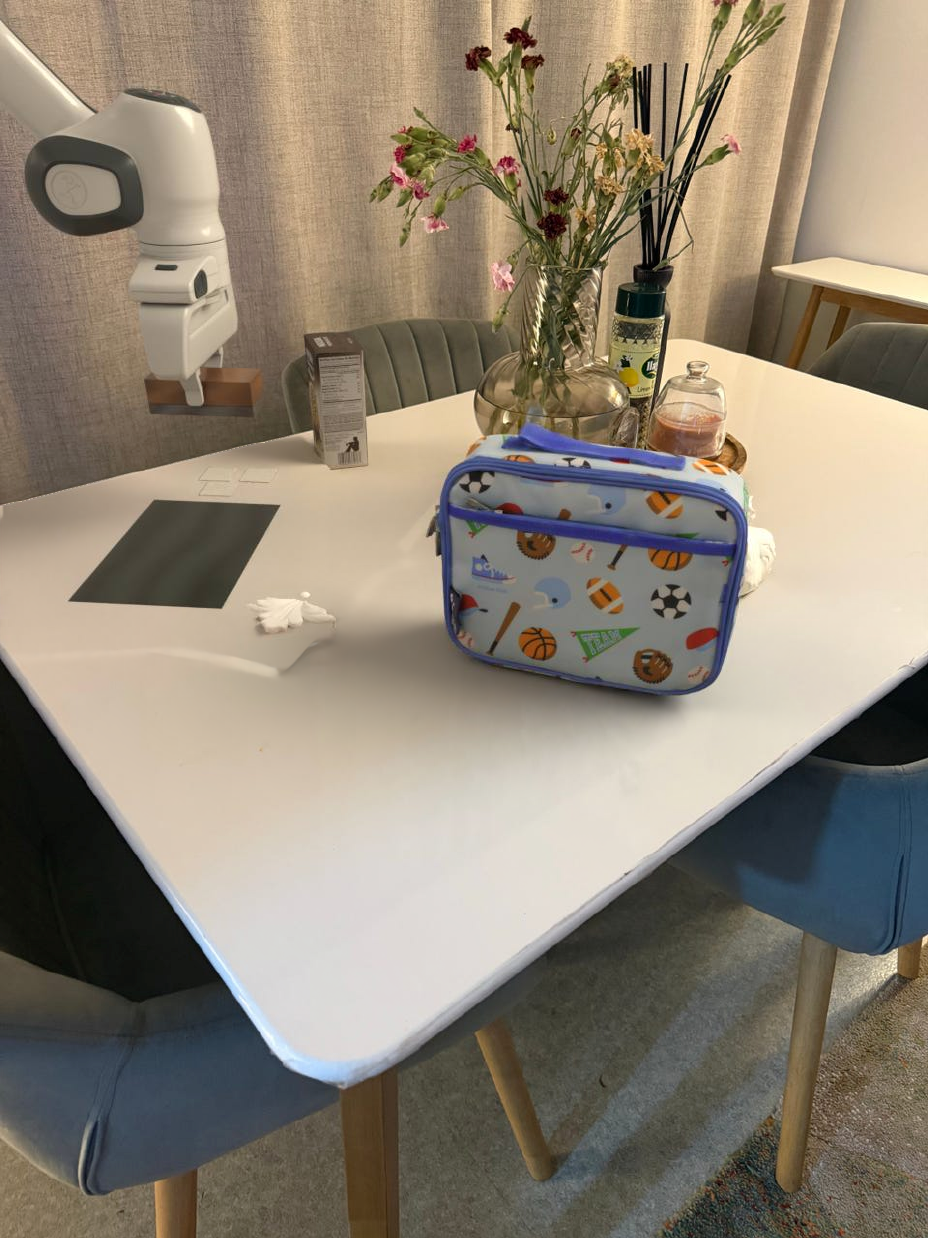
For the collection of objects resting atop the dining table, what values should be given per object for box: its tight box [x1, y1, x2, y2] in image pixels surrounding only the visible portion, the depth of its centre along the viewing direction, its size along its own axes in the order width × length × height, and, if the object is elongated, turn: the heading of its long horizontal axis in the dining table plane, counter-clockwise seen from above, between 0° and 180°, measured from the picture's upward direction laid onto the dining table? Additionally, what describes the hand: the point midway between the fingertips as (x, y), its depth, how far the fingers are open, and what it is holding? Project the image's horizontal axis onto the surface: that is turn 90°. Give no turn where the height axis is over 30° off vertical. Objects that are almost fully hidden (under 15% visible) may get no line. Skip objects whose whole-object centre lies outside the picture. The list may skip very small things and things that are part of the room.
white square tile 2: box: [238, 468, 278, 484], centre depth 117 cm, size 4×4×1 cm
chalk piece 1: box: [198, 467, 238, 482], centre depth 117 cm, size 4×4×1 cm
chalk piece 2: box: [198, 481, 240, 498], centre depth 113 cm, size 4×4×1 cm
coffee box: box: [303, 331, 369, 470], centre depth 120 cm, size 9×6×16 cm
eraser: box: [143, 366, 266, 418], centre depth 101 cm, size 12×5×4 cm, turn 87°
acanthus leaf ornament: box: [246, 591, 337, 635], centre depth 89 cm, size 8×7×2 cm
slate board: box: [67, 499, 281, 610], centre depth 100 cm, size 18×26×1 cm
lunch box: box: [425, 421, 750, 696], centre depth 78 cm, size 28×10×22 cm, turn 73°
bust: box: [741, 495, 777, 596], centre depth 94 cm, size 12×8×11 cm
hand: (205, 394), depth 102 cm, fingers closed on eraser, 5 cm apart
